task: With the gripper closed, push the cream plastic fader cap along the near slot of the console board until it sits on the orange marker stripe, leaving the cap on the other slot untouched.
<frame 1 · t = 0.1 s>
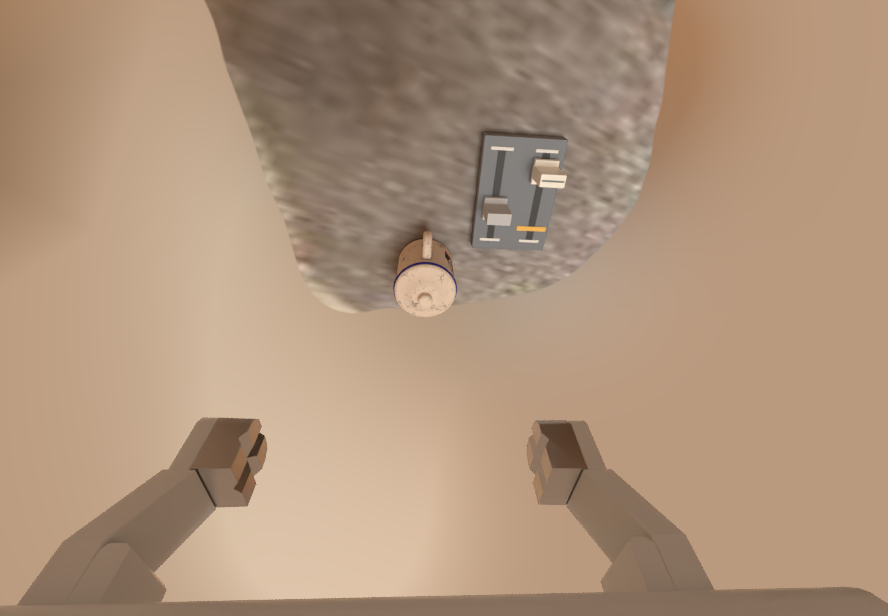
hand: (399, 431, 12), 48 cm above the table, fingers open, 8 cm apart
teacup with lid: (425, 253, 62), on the table
fader cap: (548, 176, 50), point 5 cm above the table, slide at 0.0 cm
console: (513, 193, 56), on the table
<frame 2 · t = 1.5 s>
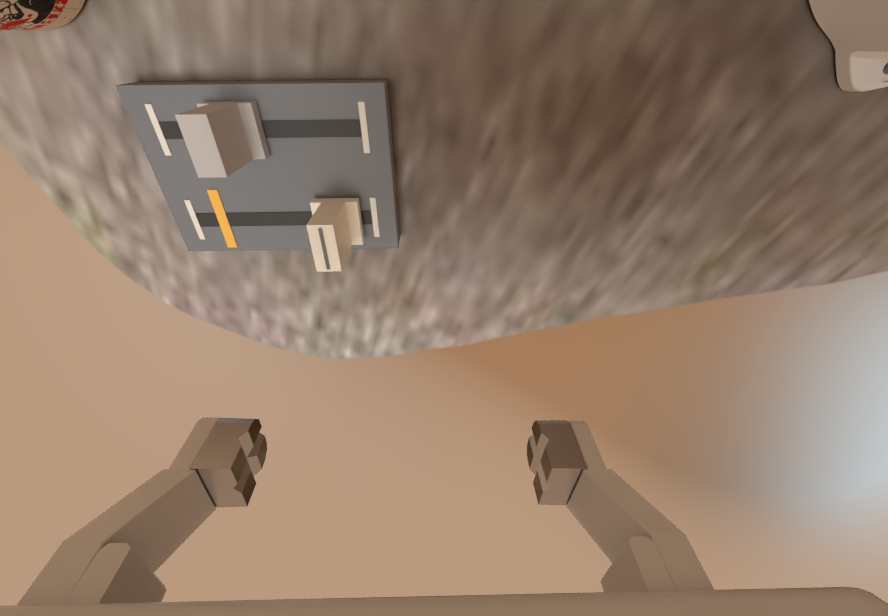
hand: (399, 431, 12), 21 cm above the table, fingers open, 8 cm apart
fader cap: (332, 233, 26), point 5 cm above the table, slide at 0.0 cm
console: (284, 168, 28), on the table
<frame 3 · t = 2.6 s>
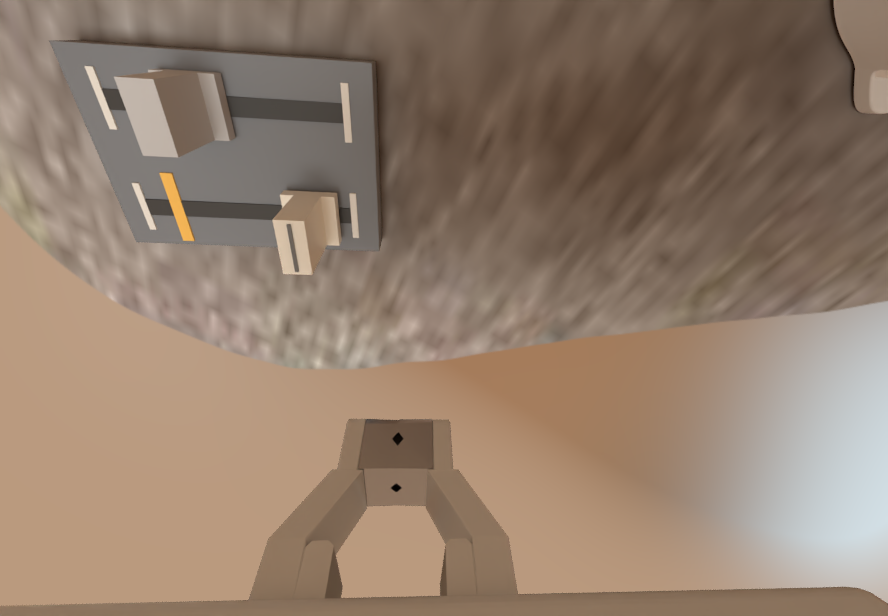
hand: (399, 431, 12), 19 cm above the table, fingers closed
fader cap: (304, 231, 23), point 5 cm above the table, slide at 0.0 cm
console: (253, 154, 24), on the table
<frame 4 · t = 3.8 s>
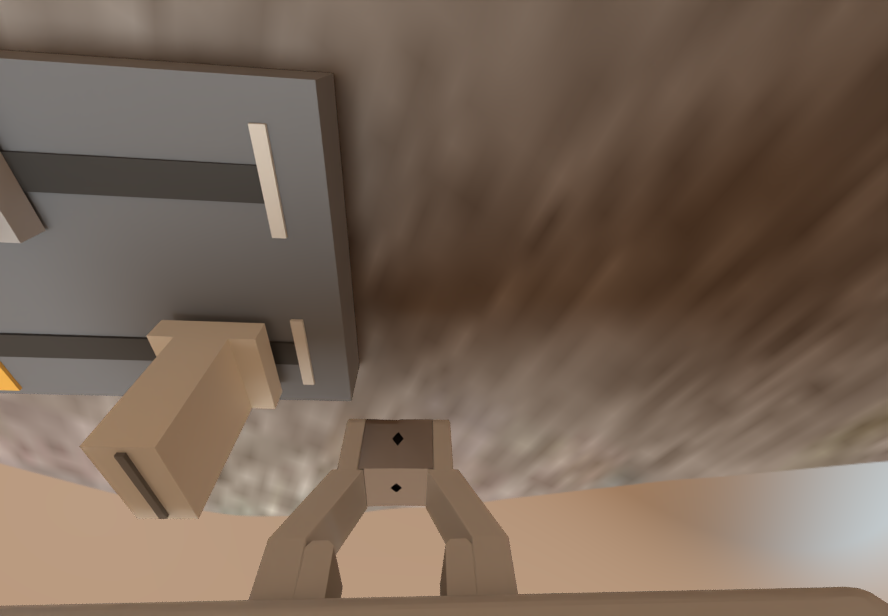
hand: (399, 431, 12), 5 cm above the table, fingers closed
fader cap: (191, 413, 11), point 5 cm above the table, slide at 0.0 cm
console: (114, 243, 13), on the table
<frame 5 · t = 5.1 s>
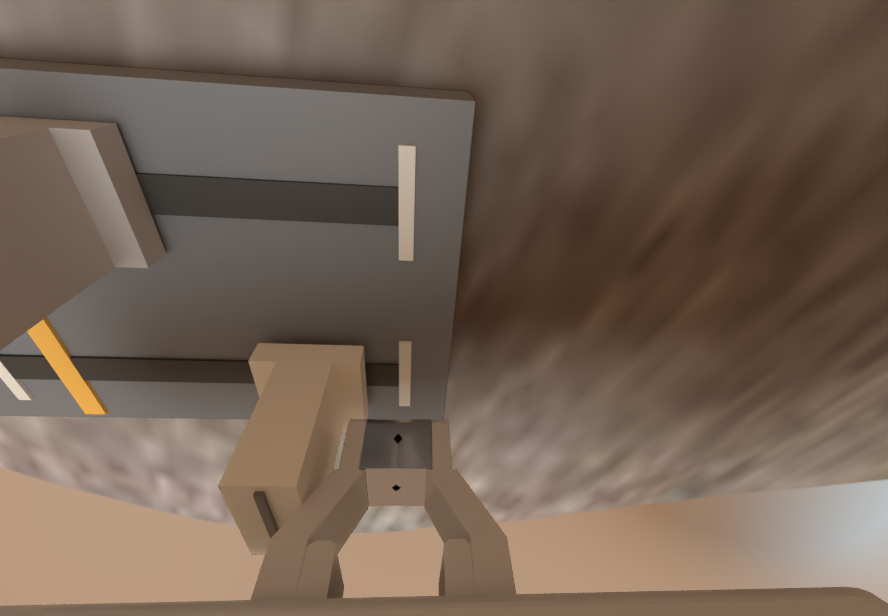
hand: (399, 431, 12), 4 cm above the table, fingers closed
fader cap: (298, 441, 11), point 5 cm above the table, slide at 0.4 cm, touching gripper
console: (212, 262, 13), on the table
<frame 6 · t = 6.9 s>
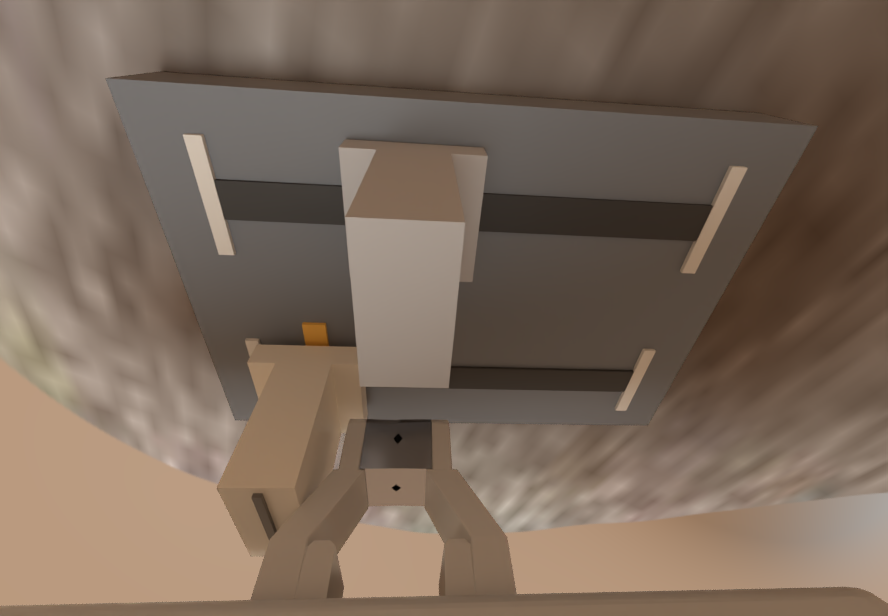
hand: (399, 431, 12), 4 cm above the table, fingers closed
fader cap: (297, 443, 11), point 5 cm above the table, slide at 8.6 cm, touching gripper
console: (457, 273, 13), on the table
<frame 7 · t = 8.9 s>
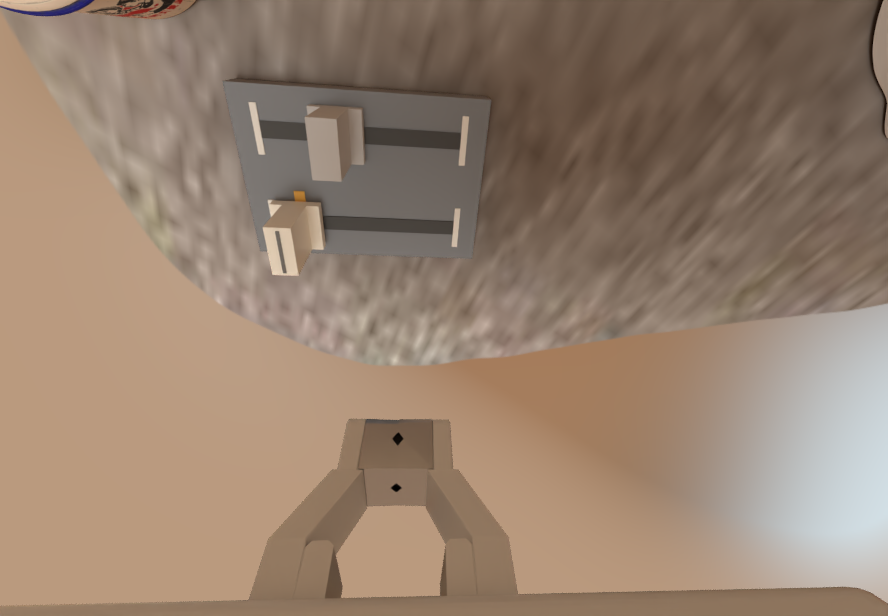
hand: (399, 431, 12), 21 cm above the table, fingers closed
fader cap: (291, 237, 25), point 5 cm above the table, slide at 8.6 cm
console: (368, 174, 28), on the table
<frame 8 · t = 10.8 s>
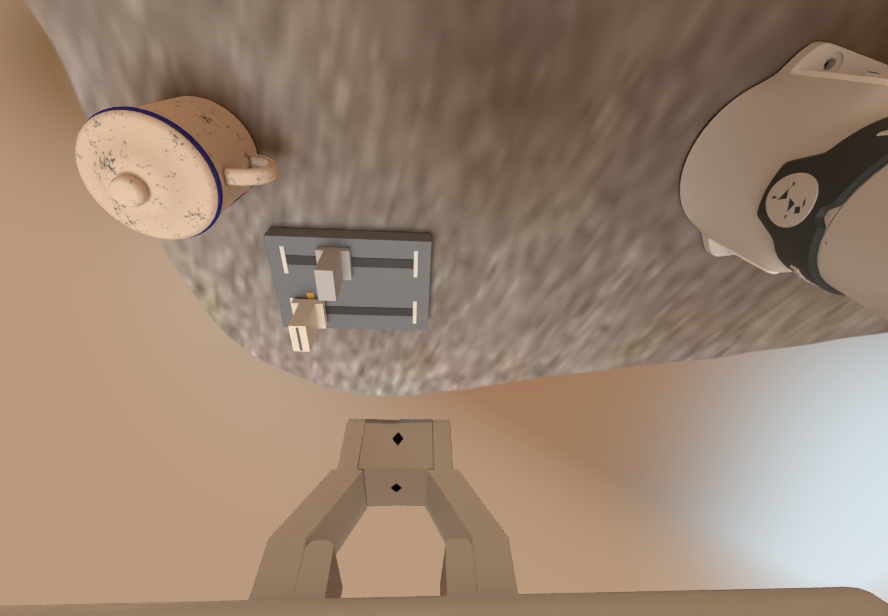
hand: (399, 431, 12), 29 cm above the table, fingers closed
teacup with lid: (226, 151, 34), on the table
fader cap: (305, 324, 39), point 5 cm above the table, slide at 8.6 cm
console: (355, 277, 42), on the table
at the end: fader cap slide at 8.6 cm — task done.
